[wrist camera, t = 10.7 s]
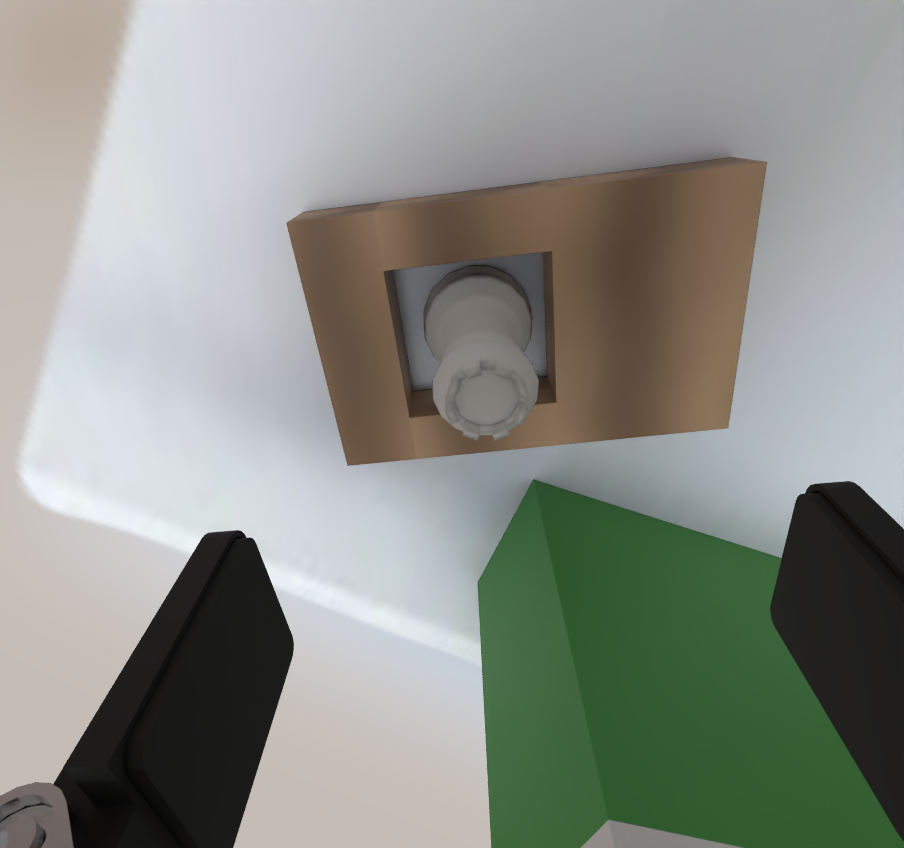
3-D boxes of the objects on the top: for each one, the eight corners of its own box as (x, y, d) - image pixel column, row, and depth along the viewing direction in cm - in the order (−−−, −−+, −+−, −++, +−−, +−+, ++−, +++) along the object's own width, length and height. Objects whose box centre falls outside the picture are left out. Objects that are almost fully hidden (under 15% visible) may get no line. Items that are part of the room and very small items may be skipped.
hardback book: (827, 573, 30) (1698, 1630, 9) (747, 657, 33) (1243, 1568, 12) (533, 479, 27) (809, 1730, 6) (477, 582, 30) (530, 1613, 9)
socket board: (732, 157, 20) (766, 162, 18) (703, 400, 25) (728, 428, 23) (303, 211, 21) (286, 222, 19) (356, 436, 26) (347, 465, 24)
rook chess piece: (536, 355, 24) (571, 455, 17) (435, 374, 24) (428, 478, 17) (522, 252, 22) (555, 317, 15) (412, 274, 22) (394, 348, 15)
